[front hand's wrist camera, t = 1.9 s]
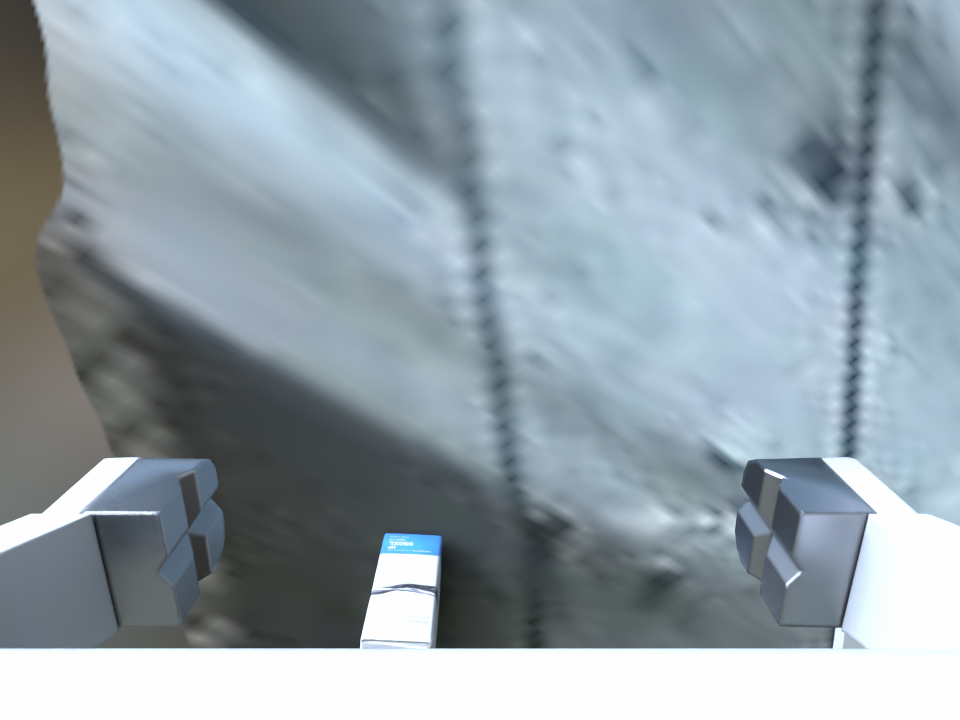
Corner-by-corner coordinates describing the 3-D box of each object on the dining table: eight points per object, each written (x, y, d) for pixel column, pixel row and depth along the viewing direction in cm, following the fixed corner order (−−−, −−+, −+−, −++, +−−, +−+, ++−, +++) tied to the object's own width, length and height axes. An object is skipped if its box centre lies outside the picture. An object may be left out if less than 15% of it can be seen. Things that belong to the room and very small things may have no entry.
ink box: (382, 530, 53) (357, 639, 42) (444, 534, 53) (435, 643, 42) (380, 615, 56) (355, 737, 45) (438, 619, 56) (428, 741, 45)
